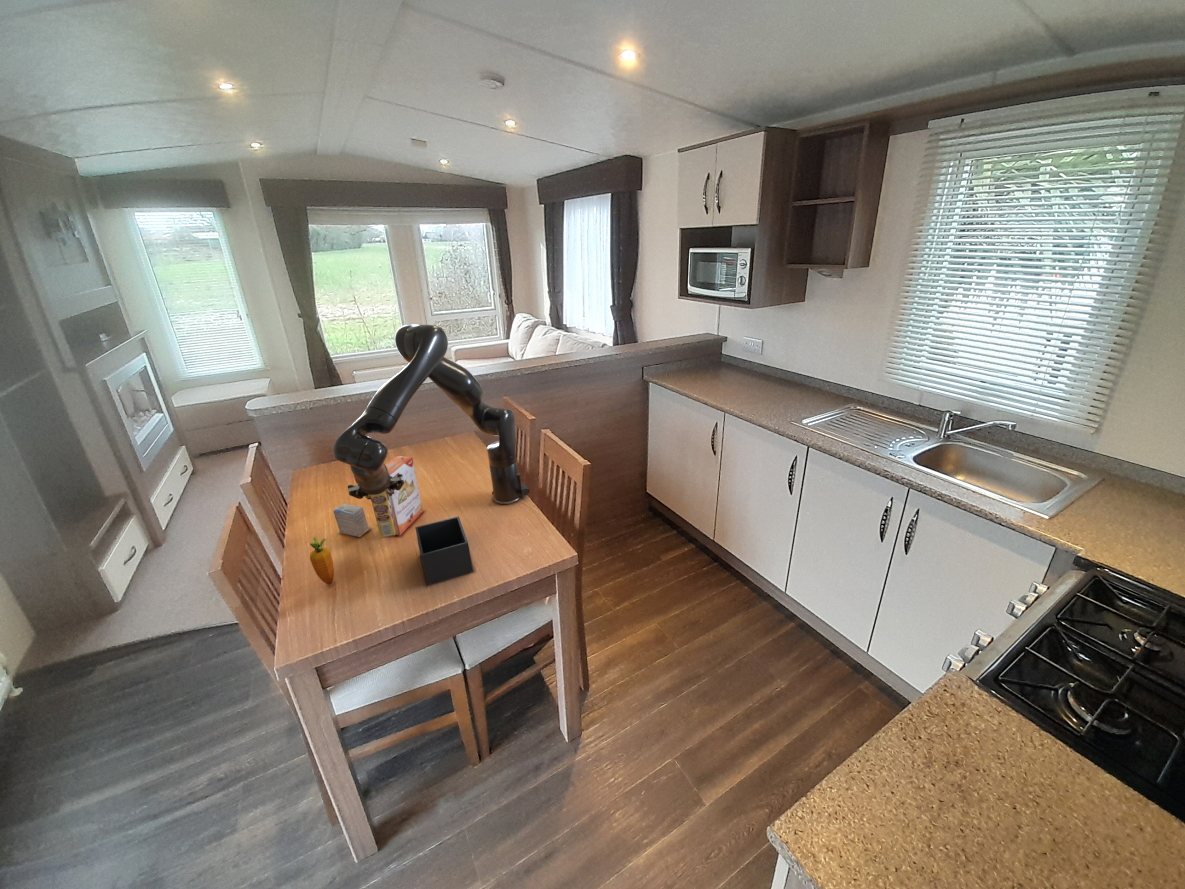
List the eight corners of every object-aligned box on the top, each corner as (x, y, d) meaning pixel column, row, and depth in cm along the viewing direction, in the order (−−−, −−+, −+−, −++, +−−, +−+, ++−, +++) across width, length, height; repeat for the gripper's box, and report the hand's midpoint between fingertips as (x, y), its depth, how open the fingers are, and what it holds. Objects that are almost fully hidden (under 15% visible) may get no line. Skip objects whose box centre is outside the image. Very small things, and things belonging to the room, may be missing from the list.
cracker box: (401, 536, 147) (387, 477, 139) (384, 534, 149) (369, 475, 140) (424, 511, 160) (413, 456, 151) (408, 510, 161) (395, 454, 152)
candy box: (397, 535, 132) (384, 487, 126) (380, 538, 131) (367, 491, 125) (397, 518, 140) (385, 473, 133) (381, 521, 139) (368, 476, 132)
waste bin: (463, 543, 143) (458, 516, 139) (473, 571, 131) (468, 542, 127) (421, 555, 139) (415, 527, 135) (427, 585, 127) (420, 555, 123)
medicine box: (370, 529, 151) (363, 506, 147) (359, 538, 147) (352, 514, 144) (350, 525, 154) (343, 502, 150) (339, 533, 150) (332, 510, 146)
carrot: (324, 579, 130) (309, 534, 124) (343, 577, 131) (328, 532, 124) (316, 591, 126) (300, 545, 120) (336, 590, 126) (320, 544, 120)
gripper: (399, 455, 121) (405, 476, 137) (338, 467, 116) (351, 488, 131) (405, 482, 119) (410, 501, 134) (343, 496, 114) (355, 514, 129)
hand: (381, 494), depth 133 cm, fingers closed on candy box, 4 cm apart
